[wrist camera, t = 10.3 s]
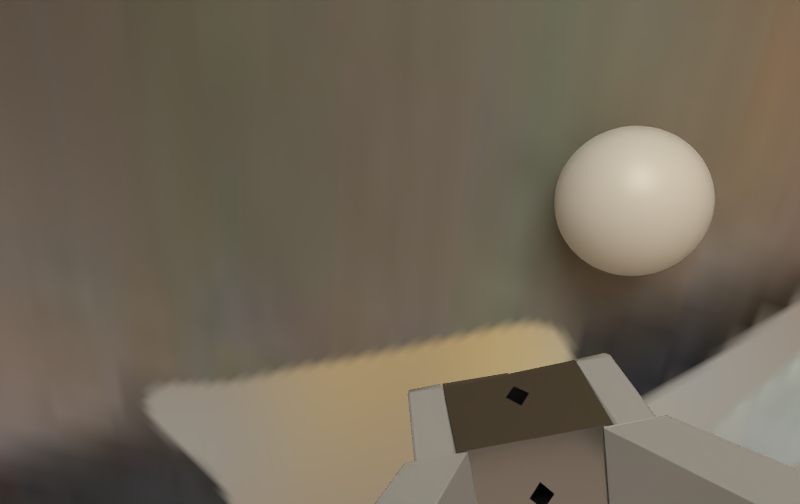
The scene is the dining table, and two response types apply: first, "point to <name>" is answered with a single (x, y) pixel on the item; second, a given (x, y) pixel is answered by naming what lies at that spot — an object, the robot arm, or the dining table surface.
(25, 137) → the dining table surface
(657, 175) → the cue ball
